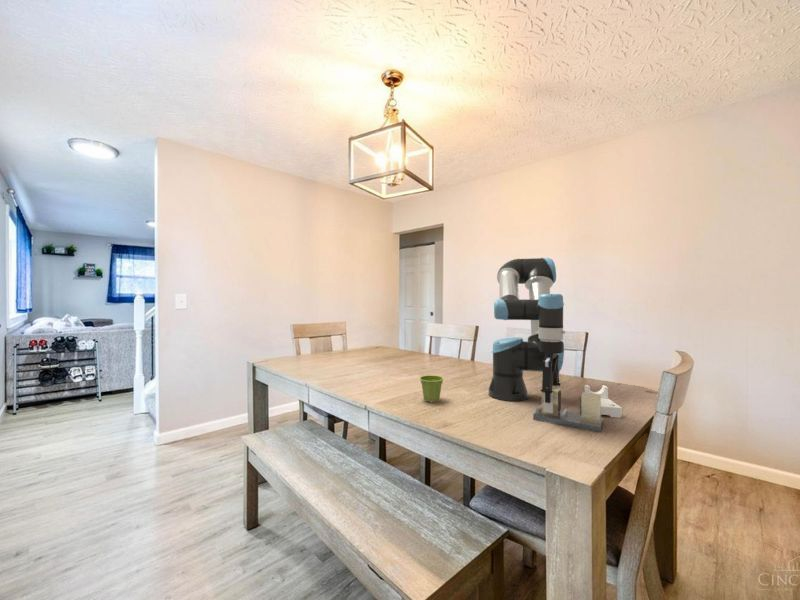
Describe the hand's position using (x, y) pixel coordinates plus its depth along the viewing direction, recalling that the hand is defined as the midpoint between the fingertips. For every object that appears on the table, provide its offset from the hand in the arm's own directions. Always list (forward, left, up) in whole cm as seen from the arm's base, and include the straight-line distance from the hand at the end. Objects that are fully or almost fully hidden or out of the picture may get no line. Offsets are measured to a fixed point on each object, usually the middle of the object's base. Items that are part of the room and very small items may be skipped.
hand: (551, 408), depth 113 cm
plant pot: (-42, -5, -3) cm, 43 cm away
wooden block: (0, 0, -2) cm, 2 cm away
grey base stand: (+5, 0, -3) cm, 6 cm away
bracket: (+14, +17, -4) cm, 22 cm away
